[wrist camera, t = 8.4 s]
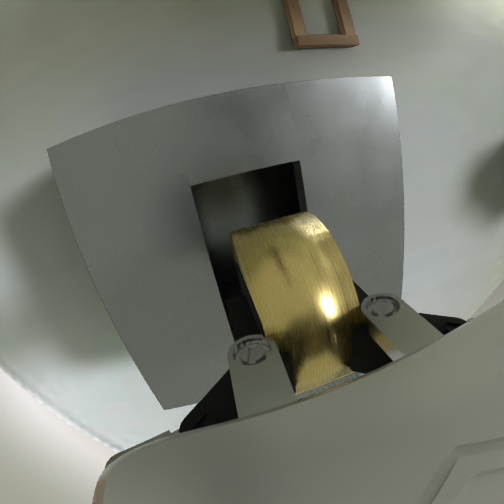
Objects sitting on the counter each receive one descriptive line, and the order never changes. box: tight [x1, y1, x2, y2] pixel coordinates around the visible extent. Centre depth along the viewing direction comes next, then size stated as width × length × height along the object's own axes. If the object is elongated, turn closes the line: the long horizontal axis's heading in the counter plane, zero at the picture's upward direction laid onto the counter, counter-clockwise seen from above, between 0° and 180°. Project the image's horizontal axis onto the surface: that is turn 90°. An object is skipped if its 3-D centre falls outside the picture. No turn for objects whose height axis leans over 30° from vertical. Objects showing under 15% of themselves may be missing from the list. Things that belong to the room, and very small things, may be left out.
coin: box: [229, 212, 361, 395], centre depth 11 cm, size 3×6×6 cm
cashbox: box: [47, 77, 404, 410], centre depth 18 cm, size 15×15×9 cm
